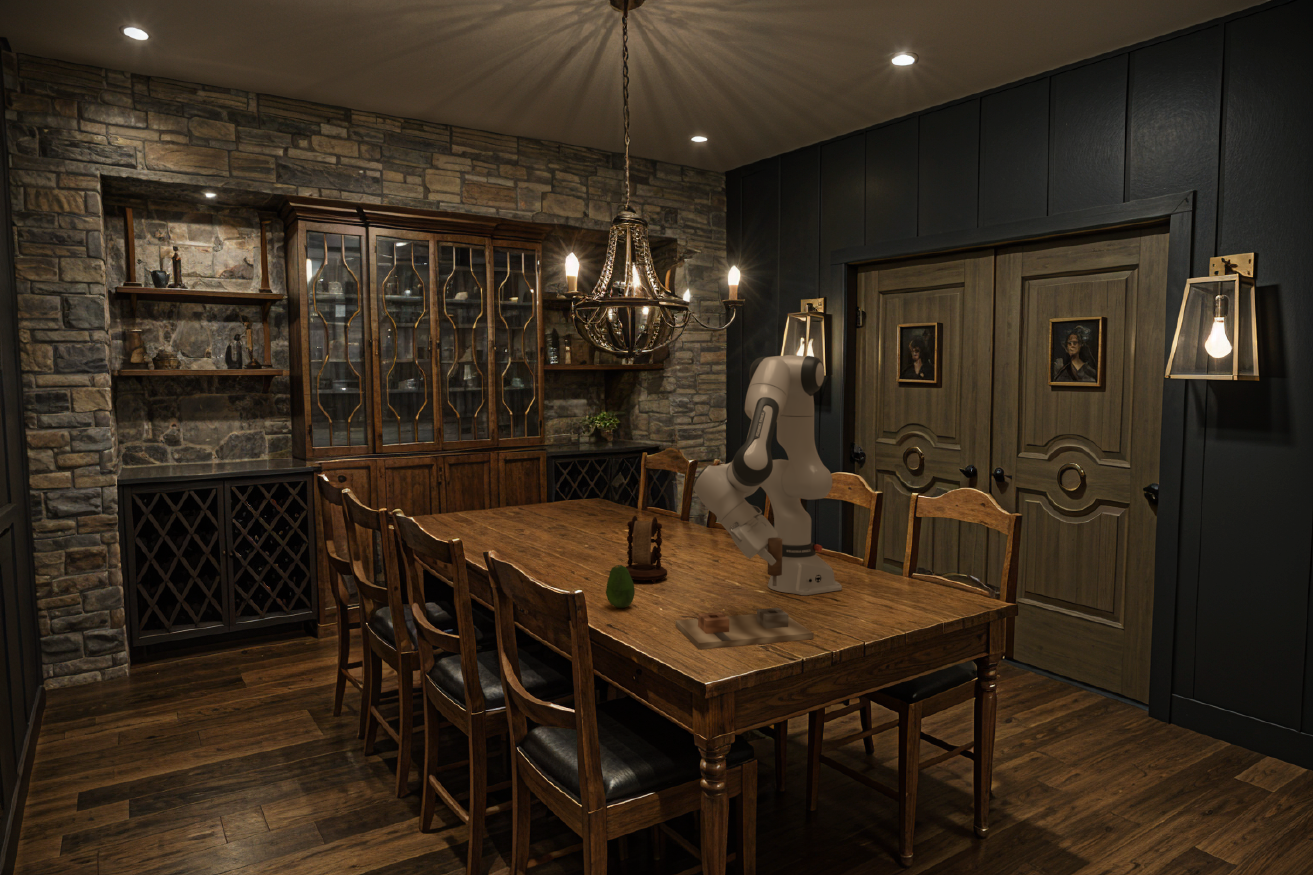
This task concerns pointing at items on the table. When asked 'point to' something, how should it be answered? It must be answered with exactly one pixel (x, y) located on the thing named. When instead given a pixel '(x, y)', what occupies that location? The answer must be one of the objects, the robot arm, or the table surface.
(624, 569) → the avocado
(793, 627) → the subfloor panel
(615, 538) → the table surface
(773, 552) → the brown wooden peg
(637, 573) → the scroll
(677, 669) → the table surface
